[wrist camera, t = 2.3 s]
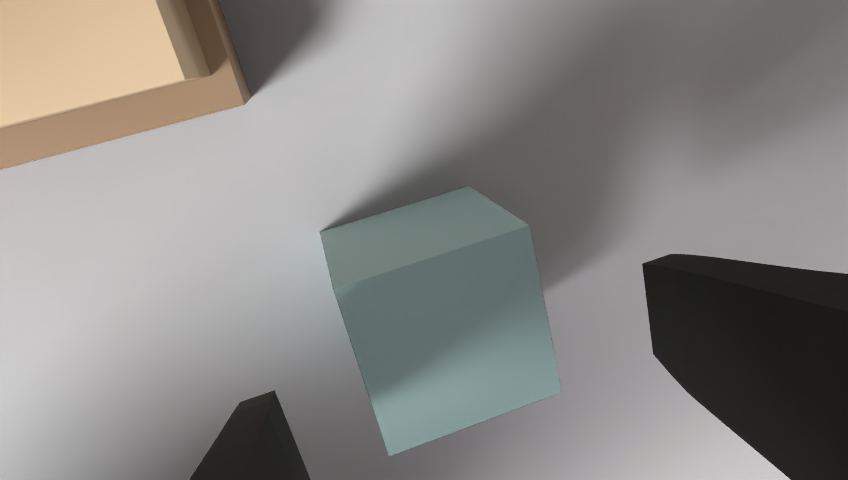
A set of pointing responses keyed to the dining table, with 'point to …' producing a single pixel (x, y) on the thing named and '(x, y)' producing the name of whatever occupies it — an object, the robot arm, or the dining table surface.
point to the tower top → (91, 53)
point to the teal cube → (443, 314)
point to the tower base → (140, 101)
